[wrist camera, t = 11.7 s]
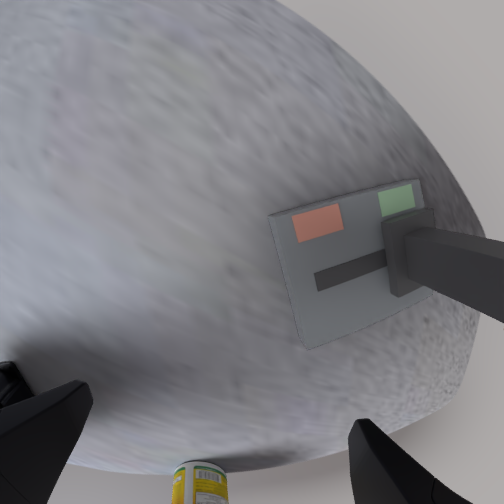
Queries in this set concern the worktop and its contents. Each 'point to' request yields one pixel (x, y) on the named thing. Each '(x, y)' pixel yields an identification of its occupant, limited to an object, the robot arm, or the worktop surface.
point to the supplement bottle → (199, 484)
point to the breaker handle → (444, 262)
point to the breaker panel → (342, 260)
